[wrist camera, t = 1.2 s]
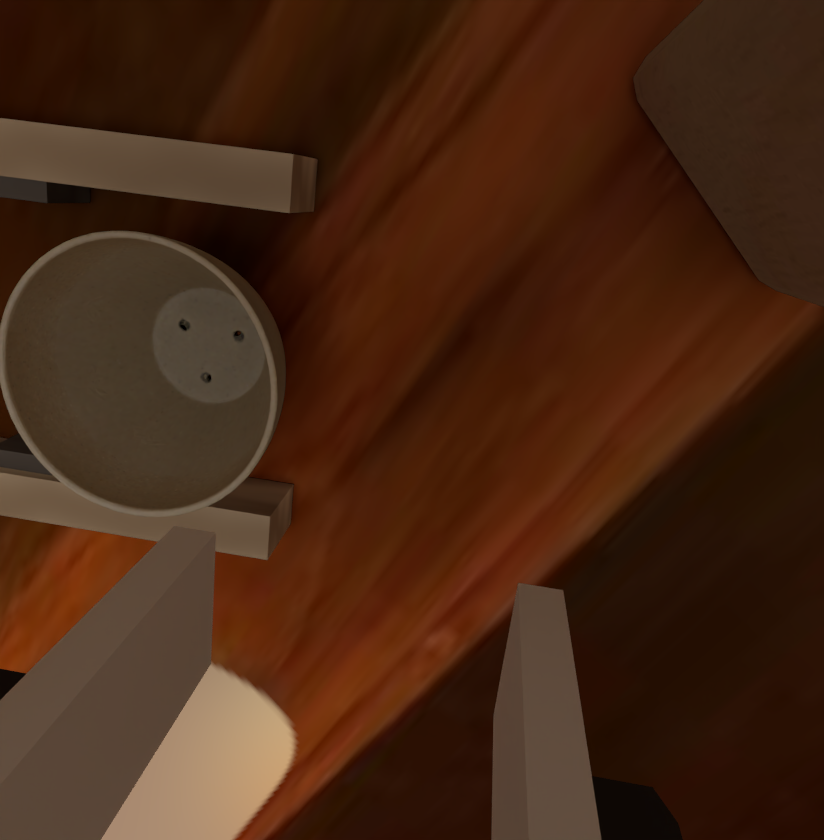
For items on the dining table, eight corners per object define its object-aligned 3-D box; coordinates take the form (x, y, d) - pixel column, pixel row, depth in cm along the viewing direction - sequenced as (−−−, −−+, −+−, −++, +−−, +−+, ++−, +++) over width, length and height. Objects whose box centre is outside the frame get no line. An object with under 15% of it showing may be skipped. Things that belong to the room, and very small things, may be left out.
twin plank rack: (-107, 106, 30) (-183, 95, 27) (317, 158, 29) (293, 154, 25) (-73, 464, 35) (-133, 492, 32) (290, 524, 33) (267, 560, 30)
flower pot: (370, 385, 31) (332, 437, 24) (189, 487, 34) (110, 561, 27) (240, 175, 29) (161, 169, 22) (59, 300, 32) (-62, 328, 25)
